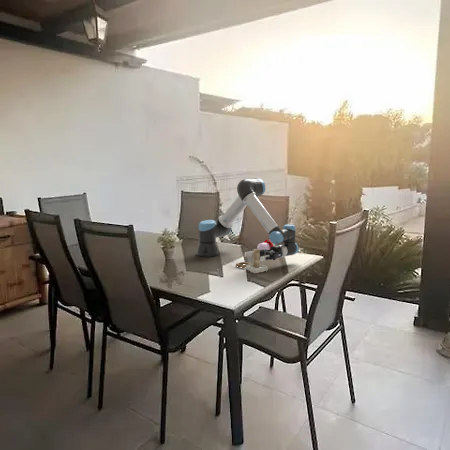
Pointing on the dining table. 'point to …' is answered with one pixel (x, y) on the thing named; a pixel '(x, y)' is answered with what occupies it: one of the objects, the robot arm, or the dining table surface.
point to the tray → (251, 267)
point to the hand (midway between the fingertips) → (252, 256)
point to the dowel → (256, 258)
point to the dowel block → (242, 264)
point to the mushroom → (265, 245)
